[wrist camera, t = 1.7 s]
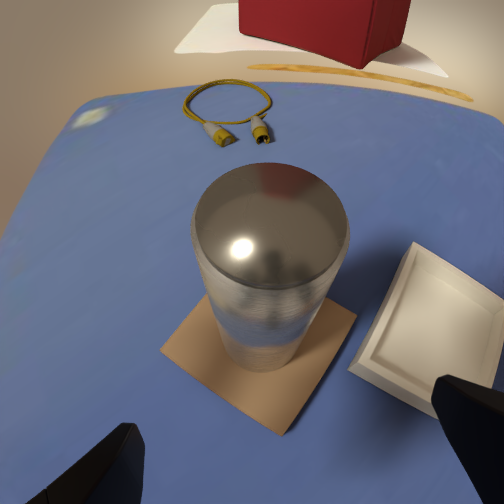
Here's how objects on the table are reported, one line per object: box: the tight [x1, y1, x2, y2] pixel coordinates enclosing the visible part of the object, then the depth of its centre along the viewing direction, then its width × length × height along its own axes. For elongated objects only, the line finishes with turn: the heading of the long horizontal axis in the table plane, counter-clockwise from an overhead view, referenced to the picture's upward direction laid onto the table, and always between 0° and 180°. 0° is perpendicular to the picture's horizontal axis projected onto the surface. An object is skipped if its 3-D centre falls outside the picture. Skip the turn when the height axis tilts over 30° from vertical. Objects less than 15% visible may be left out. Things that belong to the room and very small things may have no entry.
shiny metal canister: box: [191, 163, 350, 373], centre depth 15 cm, size 5×5×13 cm
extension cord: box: [182, 79, 271, 147], centre depth 36 cm, size 12×16×2 cm
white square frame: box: [347, 241, 504, 420], centre depth 20 cm, size 11×11×2 cm
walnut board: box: [160, 293, 357, 436], centre depth 21 cm, size 10×10×1 cm
